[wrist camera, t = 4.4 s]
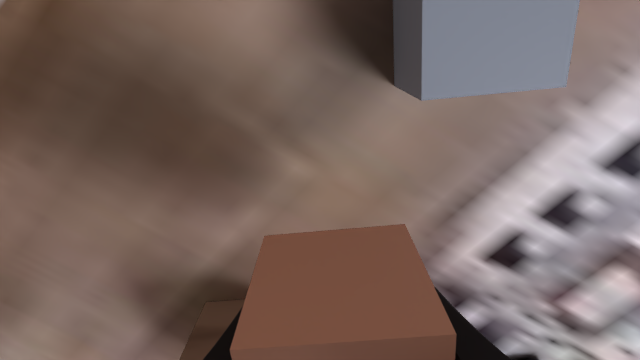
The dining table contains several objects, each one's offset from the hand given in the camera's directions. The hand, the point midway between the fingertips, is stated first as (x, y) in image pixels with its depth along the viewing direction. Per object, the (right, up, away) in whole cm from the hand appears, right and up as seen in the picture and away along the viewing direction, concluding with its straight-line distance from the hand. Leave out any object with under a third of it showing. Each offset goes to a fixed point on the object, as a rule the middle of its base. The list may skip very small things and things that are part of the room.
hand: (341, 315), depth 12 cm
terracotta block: (0, +1, +1) cm, 1 cm away
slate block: (+5, +12, +4) cm, 14 cm away
